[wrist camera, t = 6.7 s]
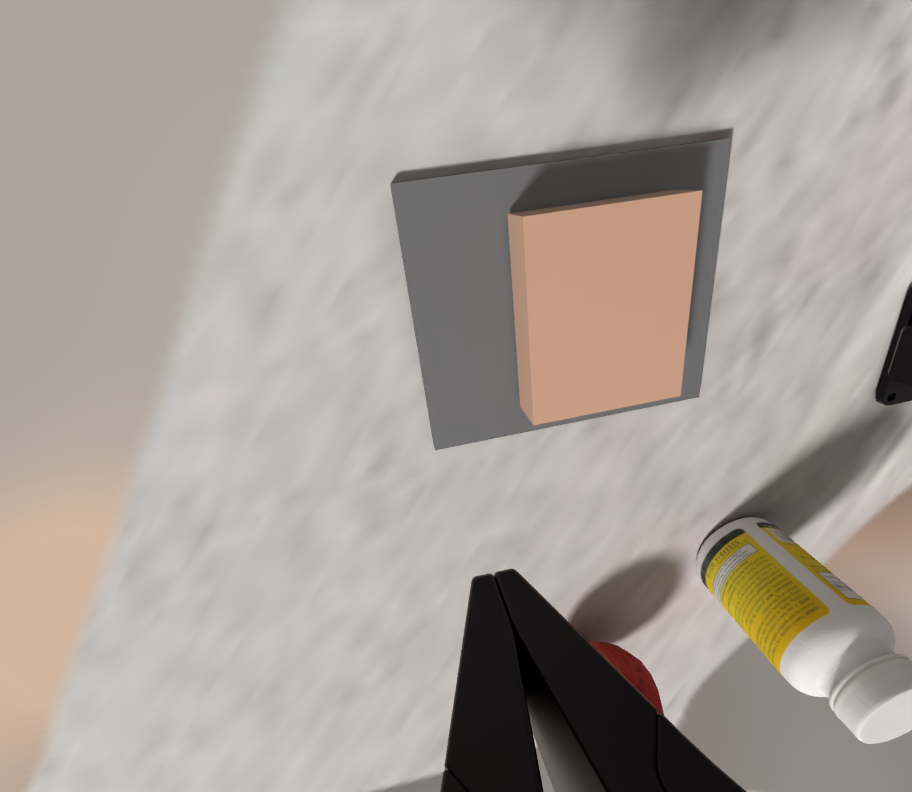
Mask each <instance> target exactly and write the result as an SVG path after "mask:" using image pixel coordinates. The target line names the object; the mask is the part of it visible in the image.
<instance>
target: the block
mask: <svg viewBox="0 0 912 792" xmlns="http://www.w3.org/2000/svg"><path fill="white" fill-rule="evenodd" d="M702 191H703V190H668V191H661V192H654V193H647V194H640V195H633V196H627V197H620V198H613V199H606V200H599V201H592V202H585V203H578V204H572V205H565V206H558V207H551V208H544V209H537V210H530V211H524V212H517V213H510V214H508V229H509V244H510V260H511V275H512V290H513V305H514V321H515V336H516V351H517V366H518V381H519V397H520V407H521V408H522V410H523V411H524V413H525V414H526V415H527V417H528V418H529V420H530V421H531V422H532V424H533V425H539V424H544V423H549V422H554V421H558V420H563V419H568V418H573V417H578V416H583V415H588V414H593V413H598V412H603V411H608V410H613V409H618V408H623V407H628V406H633V405H638V404H643V403H648V402H653V401H658V400H663V399H668V398H673V397H678V396H681V387H682V378H683V368H684V359H685V350H686V340H687V331H688V322H689V312H690V303H691V294H692V284H693V275H694V266H695V256H696V247H697V238H698V228H699V219H700V210H701V201H702Z"/></svg>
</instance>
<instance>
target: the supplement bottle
mask: <svg viewBox="0 0 912 792" xmlns="http://www.w3.org/2000/svg"><path fill="white" fill-rule="evenodd" d="M696 570H697V574H698V576H699V578H700V579H701V581H702V582H703V583H704V585H705V586H706V587H707V588H708V589H709V591H710V592H711V593H712V594H713V595H714V596H715V598H716V599H717V600H718V601H719V602H720V603H721V605H722V606H723V607H724V608H725V609H726V610H727V612H728V613H729V614H730V615H731V616H732V618H733V619H734V620H735V621H736V622H737V623H738V625H739V626H740V627H741V628H742V629H743V630H744V632H745V633H746V634H747V635H748V636H749V637H750V639H751V640H752V641H753V642H754V643H755V644H756V646H757V647H758V648H759V649H760V650H761V651H762V653H763V654H764V655H765V656H766V657H767V658H768V660H769V661H770V662H771V663H772V664H773V665H774V667H775V668H776V669H777V670H778V671H779V672H780V674H781V675H782V676H783V677H785V679H786V680H787V681H788V682H789V683H790V684H791V685H792V686H793V687H794V688H796V689H797V690H799V691H801V692H803V693H805V694H807V695H811V696H817V697H828V698H829V699H830V701H829V704H830V707H831V708H832V709H833V710H834V712H835V714H836V716H837V717H838V718H839V719H840V720H841V721H842V722H843V723H844V724H845V725H846V726H847V727H848V728H849V729H850V731H851V732H852V733H853V734H854V735H855V736H856V737H857V738H858V739H859V740H860V741H862V742H864V743H868V744H875V743H881V742H886V741H889V740H892V739H894V738H896V737H899V736H901V735H902V734H905V733H907V732H909V731H910V730H912V661H910V659H909V658H908V657H906V656H904V655H902V654H895V653H894V652H893V649H894V645H895V634H894V631H893V628H892V626H891V625H890V623H889V622H888V621H887V619H886V618H885V617H884V616H882V615H881V614H880V613H879V612H878V611H877V610H876V609H875V608H874V607H872V606H871V605H870V604H868V603H867V602H866V601H865V600H864V599H863V598H862V597H860V596H859V595H858V594H857V593H855V592H854V591H853V590H852V589H851V588H849V587H848V586H847V585H846V584H845V583H844V582H842V581H841V580H840V579H839V578H837V577H836V576H835V575H834V574H833V573H831V572H830V571H829V570H828V569H827V568H825V567H824V566H823V565H822V564H821V563H819V562H818V561H817V560H816V559H815V558H813V557H812V556H811V555H810V554H809V553H807V552H806V551H805V550H804V549H802V548H801V547H800V546H799V545H798V544H797V543H795V542H794V541H793V540H792V539H791V538H789V537H788V536H787V535H786V534H785V533H783V532H782V531H781V530H779V529H778V528H777V527H776V526H775V525H773V524H772V523H770V522H769V521H767V520H765V519H762V518H758V517H747V518H742V519H738V520H735V521H732V522H730V523H728V524H726V525H724V526H723V527H721V528H719V529H718V530H717V531H715V532H714V533H713V534H712V535H711V536H710V537H709V538H708V539H707V540H706V541H705V542H704V544H703V545H702V547H701V549H700V551H699V553H698V555H697V559H696Z"/></svg>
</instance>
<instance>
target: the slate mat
mask: <svg viewBox="0 0 912 792" xmlns="http://www.w3.org/2000/svg"><path fill="white" fill-rule="evenodd" d="M731 141H732V138H727V139H720V140H712V141H705V142H697V143H690V144H683V145H675V146H668V147H660V148H653V149H645V150H638V151H630V152H623V153H615V154H608V155H600V156H593V157H586V158H578V159H571V160H563V161H556V162H548V163H541V164H533V165H526V166H518V167H511V168H504V169H496V170H489V171H481V172H474V173H466V174H459V175H451V176H444V177H436V178H429V179H421V180H414V181H407V182H399V183H392V184H391V190H392V196H393V202H394V208H395V214H396V220H397V226H398V233H399V239H400V245H401V251H402V257H403V263H404V269H405V275H406V281H407V287H408V293H409V299H410V305H411V311H412V317H413V323H414V329H415V335H416V341H417V347H418V353H419V359H420V365H421V371H422V377H423V383H424V389H425V395H426V401H427V407H428V413H429V419H430V425H431V431H432V437H433V443H434V448H435V450H439V449H444V448H449V447H454V446H459V445H464V444H468V443H473V442H478V441H483V440H488V439H493V438H498V437H503V436H508V435H513V434H518V433H523V432H528V431H533V430H538V429H543V428H548V427H553V426H558V425H563V424H568V423H573V422H577V421H582V420H587V419H592V418H597V417H602V416H607V415H612V414H617V413H622V412H627V411H632V410H637V409H642V408H647V407H652V406H657V405H662V404H667V403H672V402H677V401H681V400H686V399H691V398H696V397H699V393H700V385H701V377H702V369H703V361H704V353H705V345H706V338H707V330H708V322H709V314H710V306H711V298H712V290H713V283H714V275H715V267H716V259H717V251H718V243H719V235H720V227H721V220H722V212H723V204H724V196H725V188H726V180H727V172H728V165H729V157H730V149H731ZM668 190H703V191H702V201H701V210H700V219H699V228H698V238H697V247H696V256H695V266H694V275H693V284H692V294H691V303H690V312H689V322H688V331H687V340H686V350H685V359H684V368H683V378H682V387H681V396H678V397H673V398H668V399H663V400H658V401H653V402H648V403H643V404H638V405H633V406H628V407H623V408H618V409H613V410H608V411H603V412H598V413H593V414H588V415H583V416H578V417H573V418H568V419H563V420H558V421H554V422H549V423H544V424H539V425H533V424H532V422H531V421H530V420H529V418H528V417H527V415H526V414H525V413H524V411H523V410H522V408H521V407H520V397H519V381H518V366H517V351H516V336H515V321H514V305H513V290H512V275H511V260H510V244H509V229H508V214H510V213H517V212H524V211H530V210H537V209H544V208H551V207H558V206H565V205H572V204H578V203H585V202H592V201H599V200H606V199H613V198H620V197H627V196H633V195H640V194H647V193H654V192H661V191H668Z"/></svg>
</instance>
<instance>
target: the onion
mask: <svg viewBox="0 0 912 792" xmlns="http://www.w3.org/2000/svg"><path fill="white" fill-rule="evenodd" d="M588 642H589V643H590V644H591V645H592V646H593V647H594V648H595V649H596V650H597V651H598V652H600V653H601V654H602V655H603V656H604V657H605V658H606V659H607V660H608V661H609V662H610V663H611V664H612V665H613V666H614V667H615V668H616V669H617V670H618V671H619V672H620V673H621V674H622V675H623V676H624V677H625V678H626V679H627V680H628V681H629V682H630V683H631V684H632V685H633V686H634V687H635V688H636V689H637V690H638V691H639V692H640V693H641V694H642V695H643V696H644V697H645V698H646V699H647V700H648V701H649V702H650V703H651V704H652V705H653V706H654V707H655V708H656V709H657V712H658V714H659V713H661V714H663V709H662V705H661V700H660V696H659V692H658V689H657V687H656V684H655V682H654V680H653V678H652V675H651V674H650V672H649V671H648V670H647V669H646V667H645V666H644V665H643V663H642V662H641V661H640V660H639V659H637V658H636V657H634V656H633V655H631V654H630V653H629V652H627V651H625V650H624V649H622V648H620V647H619V646H617V645H613V644H609V643H605V642H590V641H588ZM663 715H664V714H663ZM657 716H658V715H657Z"/></svg>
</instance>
